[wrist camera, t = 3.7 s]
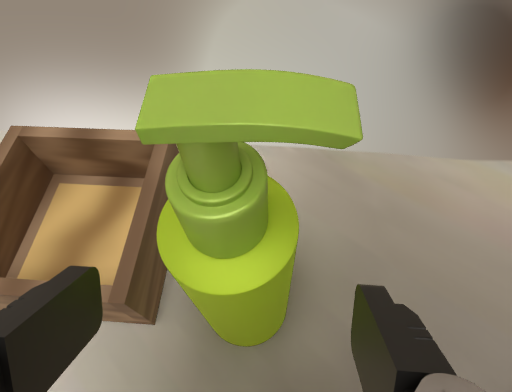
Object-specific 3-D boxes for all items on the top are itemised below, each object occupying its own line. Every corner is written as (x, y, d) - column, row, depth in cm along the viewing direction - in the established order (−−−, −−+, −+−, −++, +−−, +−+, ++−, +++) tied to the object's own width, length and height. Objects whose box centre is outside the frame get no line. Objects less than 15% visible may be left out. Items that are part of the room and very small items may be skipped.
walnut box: (187, 175, 32) (171, 131, 26) (154, 324, 25) (124, 303, 20) (52, 169, 32) (11, 125, 27) (-15, 311, 26) (-86, 288, 21)
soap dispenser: (302, 348, 24) (382, 203, 7) (202, 344, 24) (32, 196, 7) (300, 266, 27) (351, 20, 10) (211, 264, 27) (109, 23, 10)
